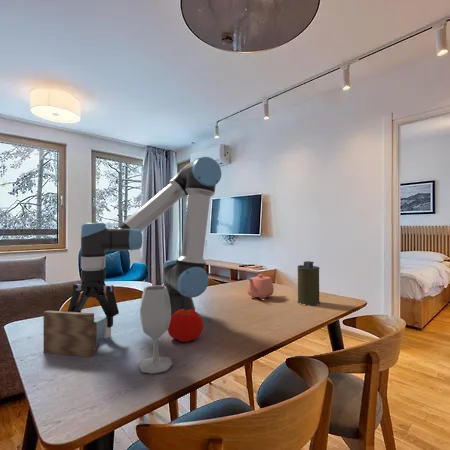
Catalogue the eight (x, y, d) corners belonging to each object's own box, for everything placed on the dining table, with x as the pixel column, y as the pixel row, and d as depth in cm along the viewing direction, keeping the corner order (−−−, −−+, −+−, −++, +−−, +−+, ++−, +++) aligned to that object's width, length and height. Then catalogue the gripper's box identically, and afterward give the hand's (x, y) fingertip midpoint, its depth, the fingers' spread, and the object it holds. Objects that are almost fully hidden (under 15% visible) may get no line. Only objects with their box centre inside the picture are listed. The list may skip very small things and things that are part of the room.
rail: (107, 334, 101) (107, 316, 101) (77, 351, 87) (77, 331, 87) (97, 333, 102) (97, 316, 102) (65, 350, 88) (65, 330, 88)
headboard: (103, 348, 89) (103, 309, 89) (90, 356, 83) (90, 314, 84) (58, 344, 92) (58, 306, 92) (43, 352, 87) (43, 311, 87)
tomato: (170, 332, 102) (170, 307, 102) (205, 333, 102) (204, 307, 102) (163, 345, 91) (163, 316, 92) (201, 345, 91) (201, 316, 91)
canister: (324, 303, 140) (324, 261, 140) (310, 306, 134) (309, 263, 134) (306, 298, 149) (306, 259, 149) (292, 302, 143) (292, 261, 143)
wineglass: (142, 360, 81) (142, 284, 81) (174, 358, 82) (173, 284, 82) (135, 375, 73) (135, 291, 73) (170, 374, 73) (170, 290, 73)
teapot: (260, 292, 164) (260, 271, 164) (279, 295, 156) (279, 273, 156) (239, 299, 148) (239, 276, 148) (258, 303, 141) (258, 278, 141)
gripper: (130, 268, 99) (129, 334, 98) (71, 266, 103) (71, 329, 103) (117, 271, 91) (117, 342, 91) (55, 269, 96) (54, 336, 96)
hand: (92, 335), depth 97 cm, fingers open, 10 cm apart
